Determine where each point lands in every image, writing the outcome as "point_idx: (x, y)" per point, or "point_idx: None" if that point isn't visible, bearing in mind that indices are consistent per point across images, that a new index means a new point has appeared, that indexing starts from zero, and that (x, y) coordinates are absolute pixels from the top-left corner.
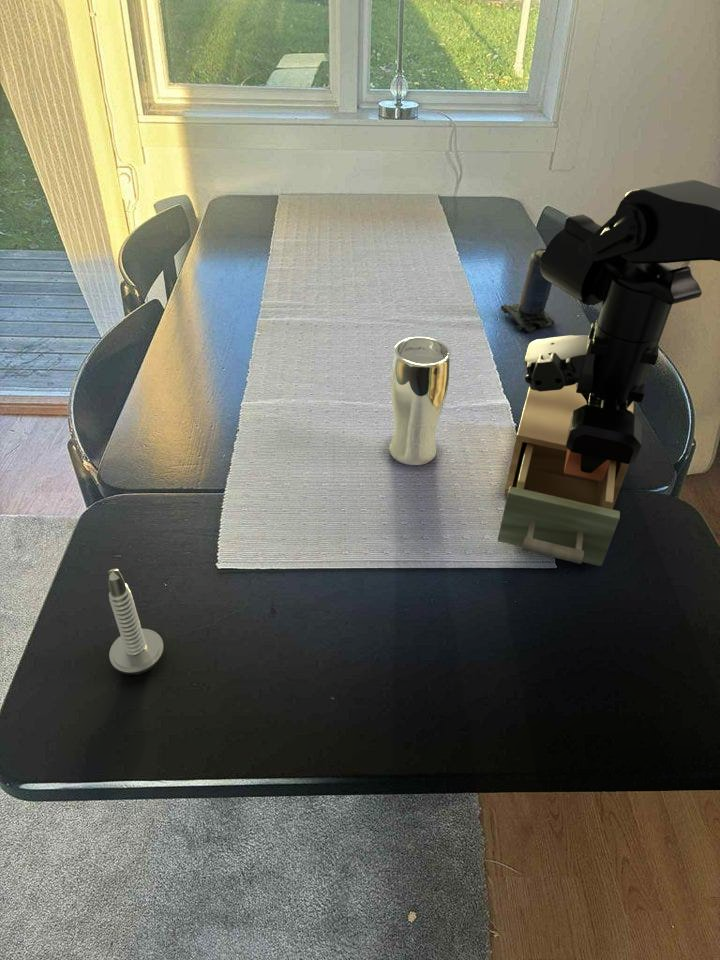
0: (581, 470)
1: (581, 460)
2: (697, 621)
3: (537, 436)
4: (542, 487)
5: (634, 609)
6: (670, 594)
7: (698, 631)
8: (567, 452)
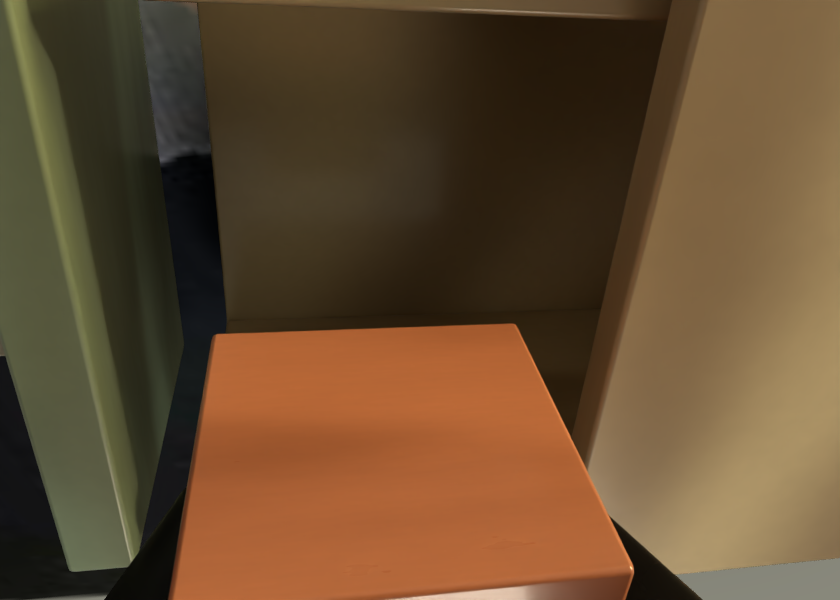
0: (181, 495)
1: (111, 593)
2: (82, 571)
3: (729, 55)
4: (534, 75)
5: (23, 438)
6: (157, 513)
7: (42, 576)
8: (440, 353)
